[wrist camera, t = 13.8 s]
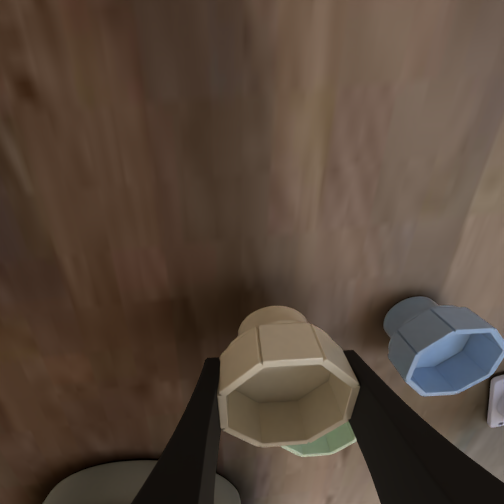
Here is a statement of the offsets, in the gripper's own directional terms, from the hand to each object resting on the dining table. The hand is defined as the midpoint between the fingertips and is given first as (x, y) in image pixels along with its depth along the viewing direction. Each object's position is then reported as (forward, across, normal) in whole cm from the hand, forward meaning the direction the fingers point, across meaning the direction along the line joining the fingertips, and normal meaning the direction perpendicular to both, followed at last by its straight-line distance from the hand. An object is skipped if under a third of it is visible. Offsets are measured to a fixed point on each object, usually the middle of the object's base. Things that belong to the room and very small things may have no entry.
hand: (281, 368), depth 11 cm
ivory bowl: (+2, 0, 0) cm, 2 cm away
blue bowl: (+5, -10, +2) cm, 12 cm away
